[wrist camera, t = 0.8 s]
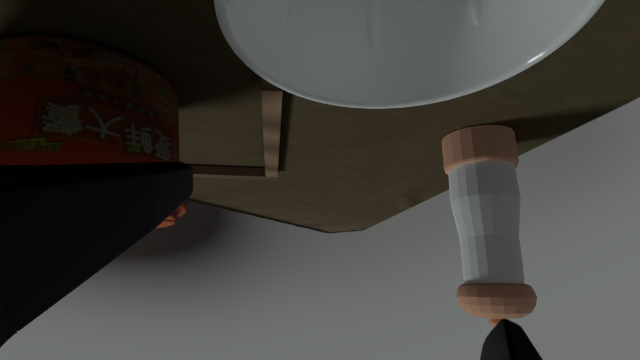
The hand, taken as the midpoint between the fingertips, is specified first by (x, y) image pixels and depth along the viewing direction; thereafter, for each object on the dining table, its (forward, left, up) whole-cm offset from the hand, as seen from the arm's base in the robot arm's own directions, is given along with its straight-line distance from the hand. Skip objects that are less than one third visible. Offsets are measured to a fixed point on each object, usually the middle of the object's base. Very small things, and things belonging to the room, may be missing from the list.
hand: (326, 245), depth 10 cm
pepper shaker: (+32, -7, -14) cm, 36 cm away
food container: (0, -25, -15) cm, 29 cm away
